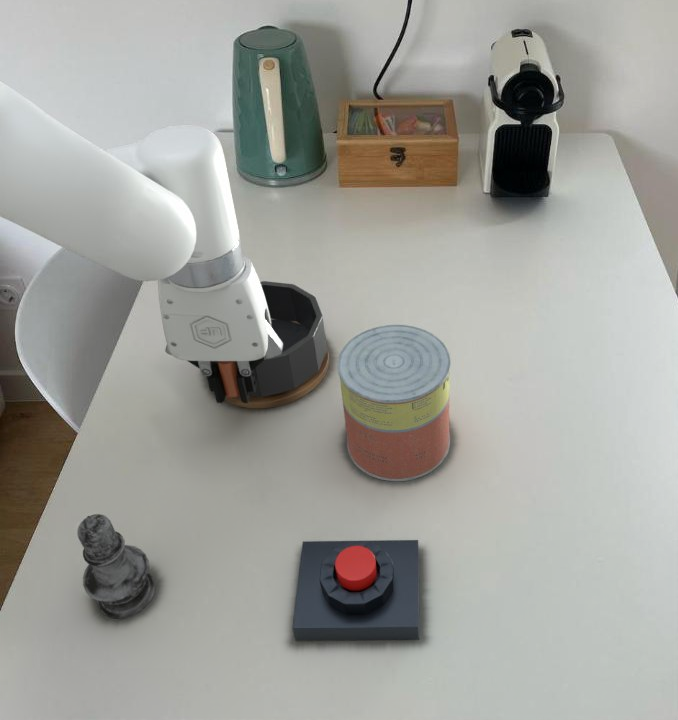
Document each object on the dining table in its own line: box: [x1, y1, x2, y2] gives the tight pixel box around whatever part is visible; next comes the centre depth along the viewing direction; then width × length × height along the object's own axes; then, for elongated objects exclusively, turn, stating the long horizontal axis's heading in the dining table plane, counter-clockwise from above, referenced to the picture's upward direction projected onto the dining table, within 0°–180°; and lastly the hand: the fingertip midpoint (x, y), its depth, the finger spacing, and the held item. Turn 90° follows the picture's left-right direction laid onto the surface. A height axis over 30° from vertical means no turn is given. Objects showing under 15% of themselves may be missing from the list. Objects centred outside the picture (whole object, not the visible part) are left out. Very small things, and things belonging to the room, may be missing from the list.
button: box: [335, 546, 377, 591], centre depth 72 cm, size 4×4×2 cm
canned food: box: [337, 324, 451, 482], centre depth 85 cm, size 11×11×12 cm
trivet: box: [205, 319, 330, 409], centre depth 99 cm, size 15×15×1 cm
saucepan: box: [217, 280, 328, 398], centre depth 94 cm, size 18×14×8 cm
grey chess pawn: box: [77, 513, 156, 620], centre depth 72 cm, size 6×6×12 cm
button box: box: [292, 539, 420, 642], centre depth 74 cm, size 11×9×4 cm
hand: (235, 393), depth 90 cm, fingers closed on saucepan, 2 cm apart
